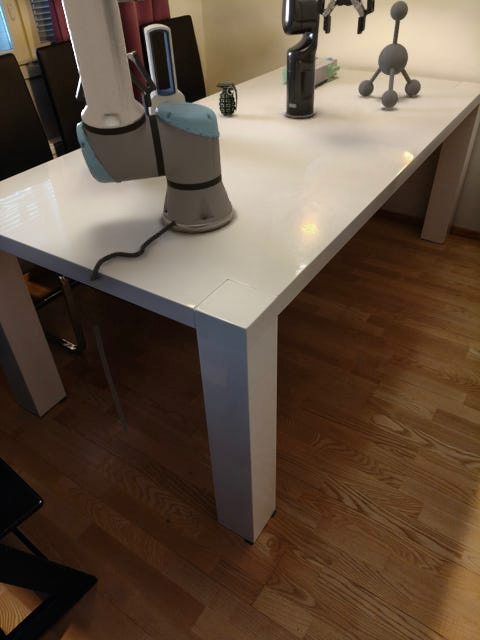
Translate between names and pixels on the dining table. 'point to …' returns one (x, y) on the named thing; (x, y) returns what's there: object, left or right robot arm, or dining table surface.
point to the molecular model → (392, 63)
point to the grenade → (227, 99)
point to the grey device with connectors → (321, 69)
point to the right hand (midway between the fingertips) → (343, 33)
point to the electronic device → (172, 92)
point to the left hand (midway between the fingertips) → (123, 124)
